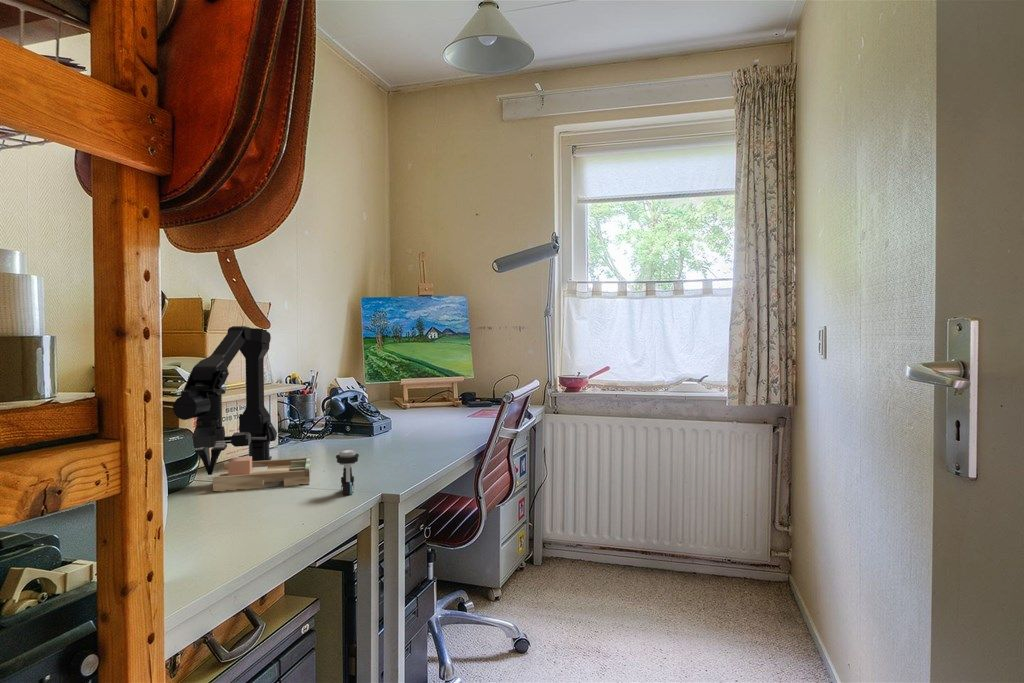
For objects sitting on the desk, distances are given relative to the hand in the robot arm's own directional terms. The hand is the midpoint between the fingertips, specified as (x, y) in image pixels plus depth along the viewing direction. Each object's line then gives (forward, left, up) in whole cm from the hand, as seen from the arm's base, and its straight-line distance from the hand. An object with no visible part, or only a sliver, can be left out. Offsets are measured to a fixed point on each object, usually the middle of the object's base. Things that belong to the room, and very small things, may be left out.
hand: (210, 474), depth 147 cm
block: (0, +7, 0) cm, 7 cm away
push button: (+18, +33, -3) cm, 38 cm away
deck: (0, +13, -2) cm, 13 cm away
